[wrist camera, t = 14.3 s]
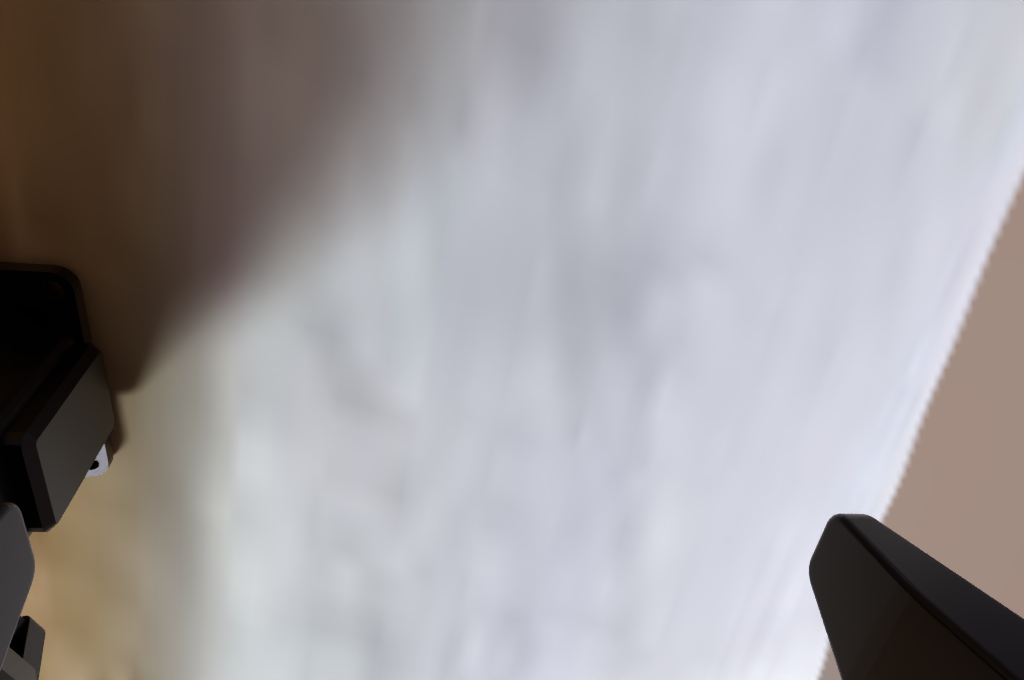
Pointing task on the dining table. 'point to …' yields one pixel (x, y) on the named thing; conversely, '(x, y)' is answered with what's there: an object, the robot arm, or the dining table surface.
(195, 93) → the dining table surface
